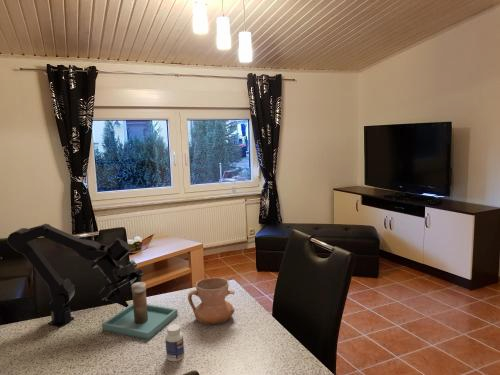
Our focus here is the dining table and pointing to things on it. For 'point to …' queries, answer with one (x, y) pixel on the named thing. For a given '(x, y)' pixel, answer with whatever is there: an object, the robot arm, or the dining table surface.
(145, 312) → the shaker
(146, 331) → the tray
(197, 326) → the dining table surface
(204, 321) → the ceramic jug
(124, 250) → the robot arm
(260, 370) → the dining table surface
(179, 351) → the pill bottle
